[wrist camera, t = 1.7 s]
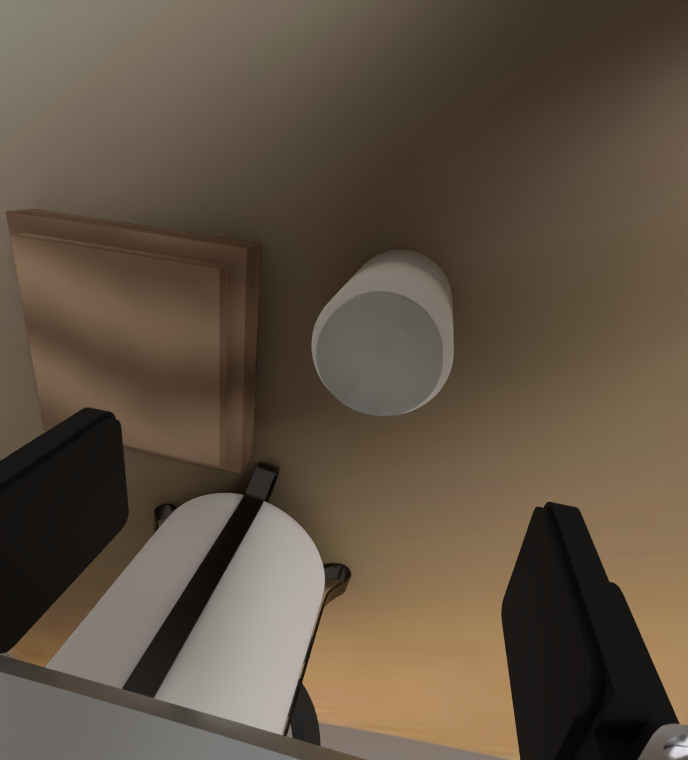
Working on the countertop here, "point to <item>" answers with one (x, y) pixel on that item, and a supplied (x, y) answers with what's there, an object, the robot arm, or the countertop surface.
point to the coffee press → (214, 613)
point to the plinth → (143, 331)
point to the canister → (387, 335)
